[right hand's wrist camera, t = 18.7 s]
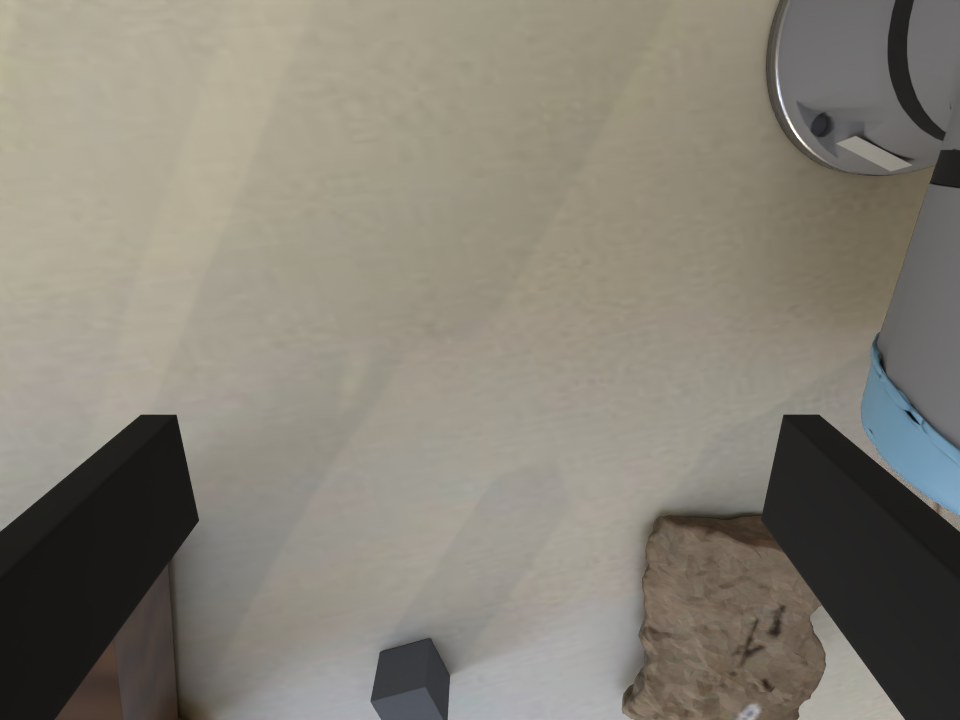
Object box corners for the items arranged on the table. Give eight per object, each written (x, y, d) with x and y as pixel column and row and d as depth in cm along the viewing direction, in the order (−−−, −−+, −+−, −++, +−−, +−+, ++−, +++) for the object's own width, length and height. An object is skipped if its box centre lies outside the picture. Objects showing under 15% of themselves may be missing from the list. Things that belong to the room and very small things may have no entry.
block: (430, 637, 53) (425, 686, 48) (450, 675, 54) (447, 726, 50) (379, 651, 53) (370, 701, 49) (401, 689, 55) (393, 740, 50)
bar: (101, 519, 46) (31, 597, 39) (165, 526, 46) (109, 605, 39) (126, 732, 56) (75, 826, 49) (179, 736, 57) (136, 830, 49)
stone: (789, 731, 52) (810, 792, 46) (620, 696, 55) (621, 748, 49) (831, 516, 48) (861, 553, 42) (645, 490, 51) (649, 521, 45)
